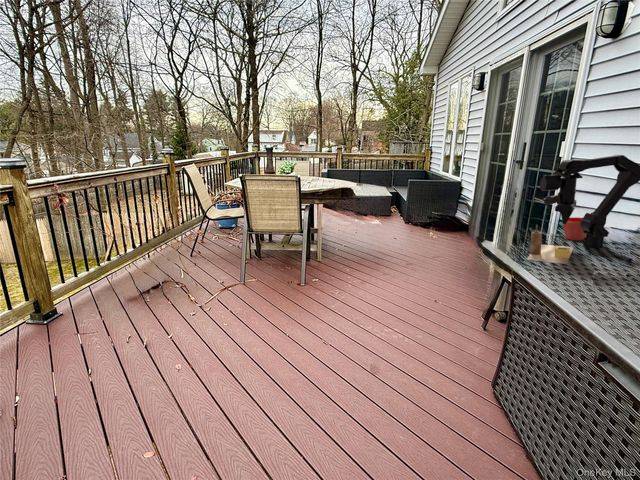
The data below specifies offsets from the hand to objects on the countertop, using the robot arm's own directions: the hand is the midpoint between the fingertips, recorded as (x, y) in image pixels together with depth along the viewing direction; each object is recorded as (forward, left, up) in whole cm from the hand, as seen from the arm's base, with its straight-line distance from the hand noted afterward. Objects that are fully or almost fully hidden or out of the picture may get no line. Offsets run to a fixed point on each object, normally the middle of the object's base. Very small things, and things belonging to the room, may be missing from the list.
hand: (564, 224), depth 152 cm
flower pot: (-3, -23, -12) cm, 26 cm away
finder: (-1, +14, -11) cm, 18 cm away
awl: (+8, +14, -11) cm, 20 cm away
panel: (+3, +11, -12) cm, 16 cm away
